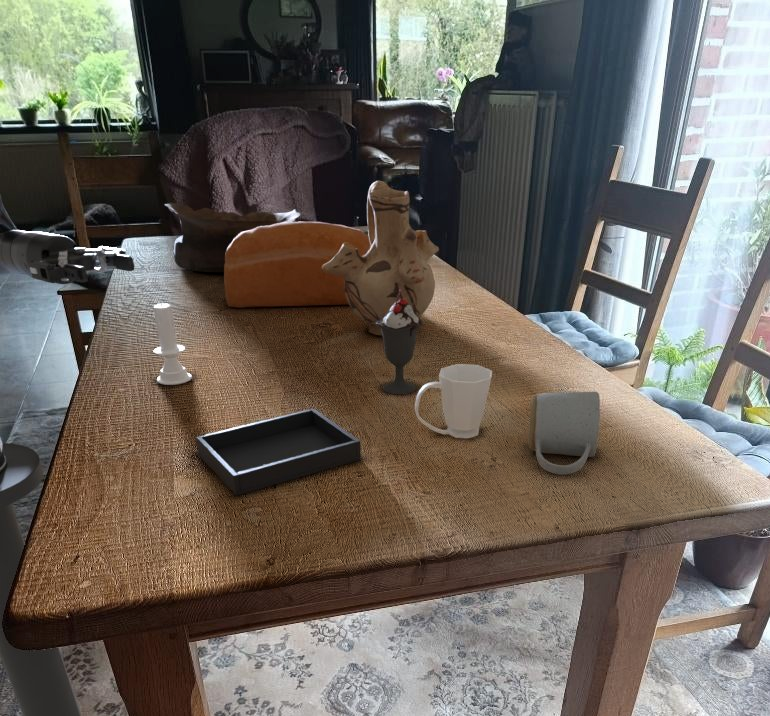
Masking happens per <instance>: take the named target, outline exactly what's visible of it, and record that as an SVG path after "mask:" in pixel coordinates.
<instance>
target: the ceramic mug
mask: <svg viewBox="0 0 770 716" xmlns="http://www.w3.org/2000/svg"><path fill="white" fill-rule="evenodd" d="M600 396H601V395H600V393H599V392H598V391H577V392H576V391H575V392H568V391H567V392H543V393H538V394H534V395H533V396H532V397H530V404H529V423H528V440H527V441H528V442H527V448H529V449H530V450H531V451H533V452H535V456H536V459H537V462H538V464H539V466H540V467H541V468H542V469H543V470H545V471H547V472H549V473H550V474H554V475H561V476H562V475H563V476H565V475H571V474H575V473H576V472H578V471H580V470H581V469H582V468H583V467H584V465H585V464H586V462H587V460H588V458H593V457H595V455H596V453H597V447H598V443H599V432H600V423H601V422H600V421H601V419H600V418H601V397H600ZM543 454H551V455H553V454H554V455H562V456H563V455H564V456H574V457H580V458H579V459H577V460H576V461H574V462H573V463H570V464H567V465H562V464H555V463H552V462H550V461H549V460H547V459H546V458H545V457H544V455H543Z"/></svg>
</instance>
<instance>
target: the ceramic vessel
mask: <svg viewBox="0 0 770 716" xmlns="http://www.w3.org/2000/svg"><path fill="white" fill-rule="evenodd" d="M410 200H411V199H410V192H409V191H408V190H406V191H405V190H398V189H393V188H392V187H389V185H388V183H386V182H385V181H383V180H376V181H374V182H372V183H371V185H370V186H369V189H368V191H367V201H366V221H367V231H368V235H369V241H370V245H371V247H370V249H369V250H368V252H367V253H366V254H365V255H364V256H361V255H359V253H358V250H357V248H354V247H353V246H352V245H351V244H350V243H348V242H344V243H343V245H342V247H341V249H340V250H339V252H338V253H337V254H336V255H335V256H334V258H333V259H332V260H330V261H329V262H328V263H325V264H324V265H323V266H322V270H323V271H324V272H325V273H329V274H333V275H337V276H342V277H344V291H345V295H346V298H347V301H348V303H349V304H348V305H349V307H350V308H351V310H352V312H353V313H354V314H355V315H356V316H357V318H360V319H362V320H363V321H365V322H367V323H368V332H369V333H371V334H372V335H376V336H381V337H383V336H382V331H381V328H380V326H379V325H377V324H376V322H377V321H378V320H379V319H381V318H382V317H385V316H386V315H387V314H388V313H389V310H390V308H391V307H392V305H393V304H394V303H396V299H397V296H398V294H399V293H398V292H399V291H400V290H401V293H400V296H401V298H402V299H406V301H407V303H408V304H409V305H410V306H411V307H412V308H414V309H415V311H414V314H415V315H417V317H418V318H421V316H423V315H424V313H425V312H426V311H427V309H428V308H429V306H430V304H431V303H432V300H433V298H434V295H435V289H436V281H435V276H434V272H433V269H432V267H431V265H430V264H429V260H430V258H432V257H433V256H434V255H435V254H436V253H438V252H439V251H440V249H439V246H438V245H435V244H434V243H433V242H432V241H431V240H430V238H429V236H428V232H427V230H423V229H418V230H414V229H413V228H412V227H411V224H410V202H411V201H410ZM400 296H398V300H397V302H399V300H400V299H401V298H400Z"/></svg>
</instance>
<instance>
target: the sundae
mask: <svg viewBox="0 0 770 716" xmlns="http://www.w3.org/2000/svg"><path fill="white" fill-rule="evenodd" d="M398 293H399V294H398V296H400V293H401V290H400V291H399V292H398ZM398 296H397V299H396V303H394V304H393V305H392V307H391V308H390V310H389V313H388V314H387V315H386V316H385V317H382V318H381V319H379V320H378V321H377V322H376V324H377V325H379V326H380V328H381V331H382V336H381V337H382V342H383V350H384V354H385V359H386V360H387V361H388V362H389V363H390V364H391V365H393V366H394V368H395V375H394V379H393V381H391V382H387V383H385V384H384V385H383V387H382V389H383V391H384V392H385V393H388V394H391V395H407V394H411V393H413V392H415V390H416V389H417V387H416V385H415V384H413V383H412V382H409V381H408V382H407V381H406V380H405V375H404V368H405V367H406V366H407V365H409V363H410V362H411V361H412V360H413V358H414V354H415V348H416V342H417V341H416V340H417V335H418V331H419V329H420V328H421V327H422V326H423V325H424V322H423V320H422V318H421V317H417V315H415V314H414V311H415V309H414V308H412V307H411V306H410V305H409V304H408V303H407V301H406V299H402V298H401V296H400V298H401V299H400V300H399V302H397V300H398Z"/></svg>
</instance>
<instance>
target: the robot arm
mask: <svg viewBox="0 0 770 716" xmlns="http://www.w3.org/2000/svg"><path fill="white" fill-rule="evenodd" d="M10 217H11V216H9V214H8V212H7V210H6V208H5V206H4V204H3V199H2V196H1V195H0V276H3V275H11V274H20V275H24V276H28V277H30V278H32V279H35V280H39V281H41V282H45V283H49V284H57V285H68V284H71V283H73V282H77V283H82V284H83V283H86V282H88V281H89V278H88V274H90V273H91V274H92V273H93V274H94V273H106V272H107V271H108V270H120V271H126V272H133V271H135V263H134V258H133V257H132V255H127V251H126V249H125V248H117V247H111V246H110V247H109V246H103V245H100V246H98V247H97V248H87V247H80V246H79V245H78V244H77V243H76V242H75V241H74V240H73V239H71V238H70V237H68V236H65V235H62V234H61V235H60V234H56V233H49V232H43V231H26V230H20V229H18V228H17V226H16V225H15V224H14V222H13V221H12V219H11V218H10ZM97 261H99V266H100V267H97ZM2 443H3V440H2V437H1V436H0V474H1V473H2V472H3V471H4V470H5V469H6V467H7V460H6V457H5V456H4V454H3V449H2V445H3V444H2Z"/></svg>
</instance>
